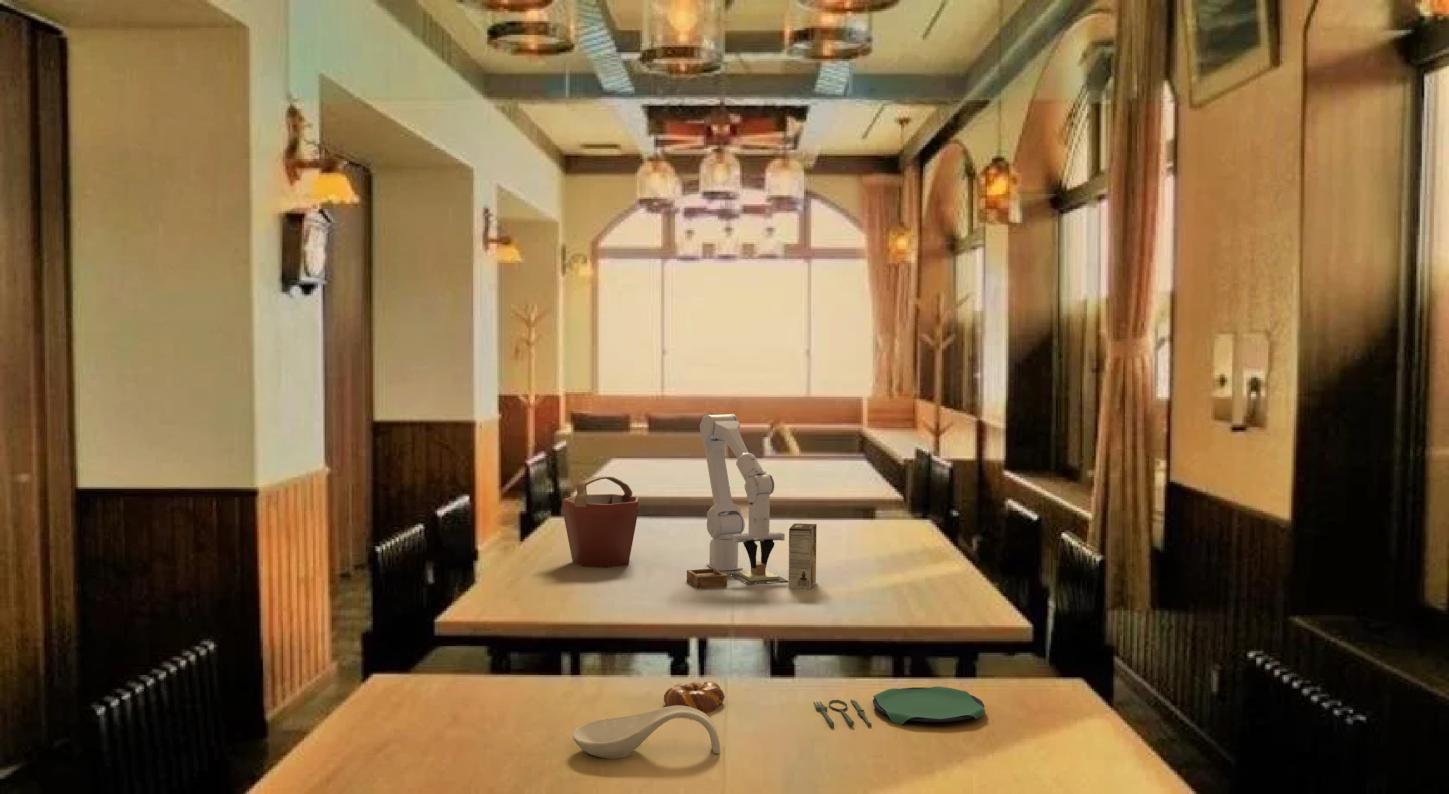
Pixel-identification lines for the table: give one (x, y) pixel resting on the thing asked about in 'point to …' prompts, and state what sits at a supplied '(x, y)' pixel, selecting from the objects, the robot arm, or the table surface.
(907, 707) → the cutlery set
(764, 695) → the table surface
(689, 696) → the pretzel
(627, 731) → the spoon rest
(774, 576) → the lid
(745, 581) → the mat
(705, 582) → the box
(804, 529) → the coffee box
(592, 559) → the bucket
